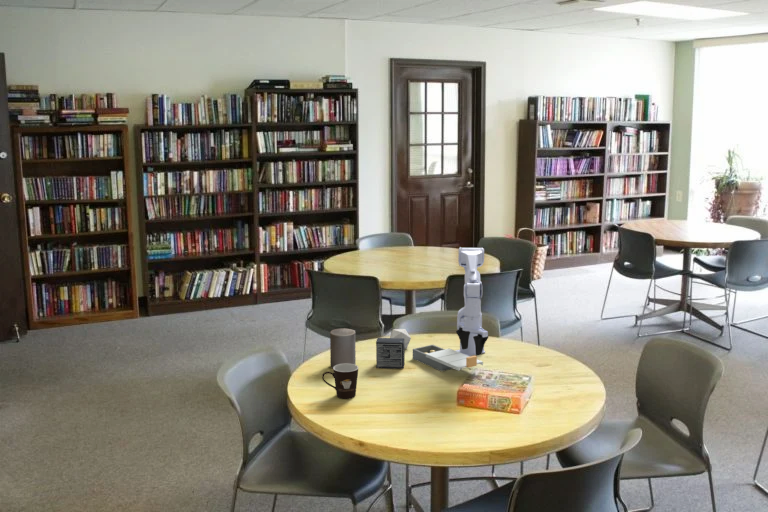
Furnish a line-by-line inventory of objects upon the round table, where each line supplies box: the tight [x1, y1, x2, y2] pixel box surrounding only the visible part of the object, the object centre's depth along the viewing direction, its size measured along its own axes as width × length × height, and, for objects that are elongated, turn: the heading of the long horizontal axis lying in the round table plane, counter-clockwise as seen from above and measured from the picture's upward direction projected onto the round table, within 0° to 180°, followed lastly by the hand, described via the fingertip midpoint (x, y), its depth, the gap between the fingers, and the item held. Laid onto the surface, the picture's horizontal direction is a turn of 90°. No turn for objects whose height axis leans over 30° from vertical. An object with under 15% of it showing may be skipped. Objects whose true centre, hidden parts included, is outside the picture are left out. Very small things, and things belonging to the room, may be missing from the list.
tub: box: [412, 344, 454, 372], centre depth 291 cm, size 10×18×4 cm, turn 35°
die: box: [389, 328, 412, 350], centre depth 309 cm, size 8×9×10 cm
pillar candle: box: [329, 327, 357, 370], centre depth 286 cm, size 10×10×15 cm
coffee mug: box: [321, 364, 359, 400], centre depth 257 cm, size 12×9×10 cm
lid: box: [426, 348, 484, 371], centre depth 282 cm, size 12×20×4 cm, turn 35°
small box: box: [375, 337, 406, 370], centre depth 287 cm, size 11×6×10 cm, turn 84°
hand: (471, 351), depth 274 cm, fingers open, 7 cm apart
